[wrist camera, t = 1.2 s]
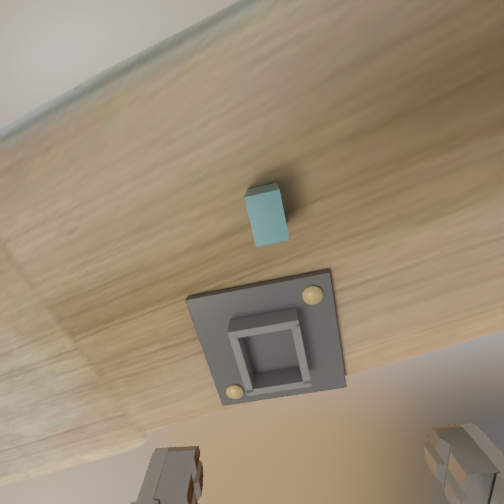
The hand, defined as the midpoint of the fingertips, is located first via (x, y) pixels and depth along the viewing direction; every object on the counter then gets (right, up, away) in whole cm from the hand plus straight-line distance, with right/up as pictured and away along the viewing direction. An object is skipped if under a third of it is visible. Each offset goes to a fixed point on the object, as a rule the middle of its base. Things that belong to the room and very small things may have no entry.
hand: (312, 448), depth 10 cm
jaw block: (0, +13, +28) cm, 31 cm away
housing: (+1, -8, +36) cm, 36 cm away
